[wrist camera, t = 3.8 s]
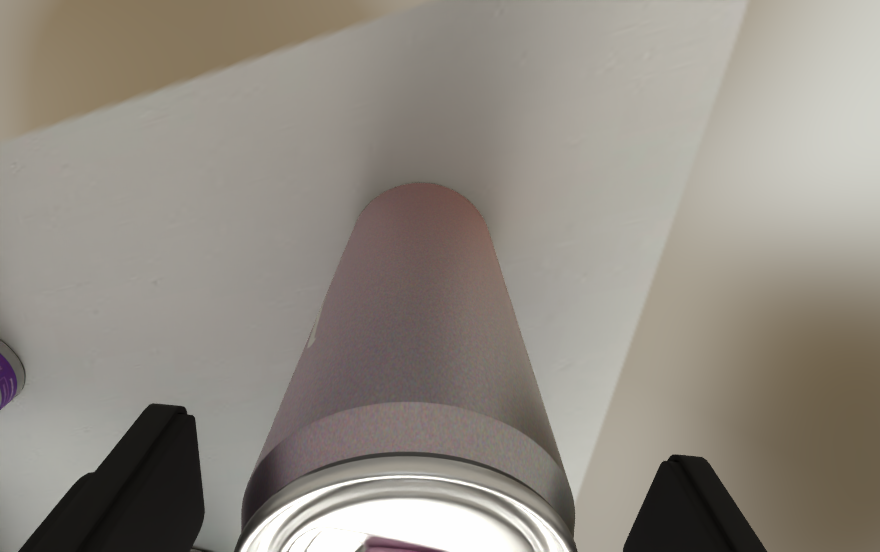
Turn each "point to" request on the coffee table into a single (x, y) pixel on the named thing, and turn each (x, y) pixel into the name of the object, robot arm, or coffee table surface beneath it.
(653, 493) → the robot arm
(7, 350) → the container
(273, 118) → the coffee table surface
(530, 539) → the beverage can
